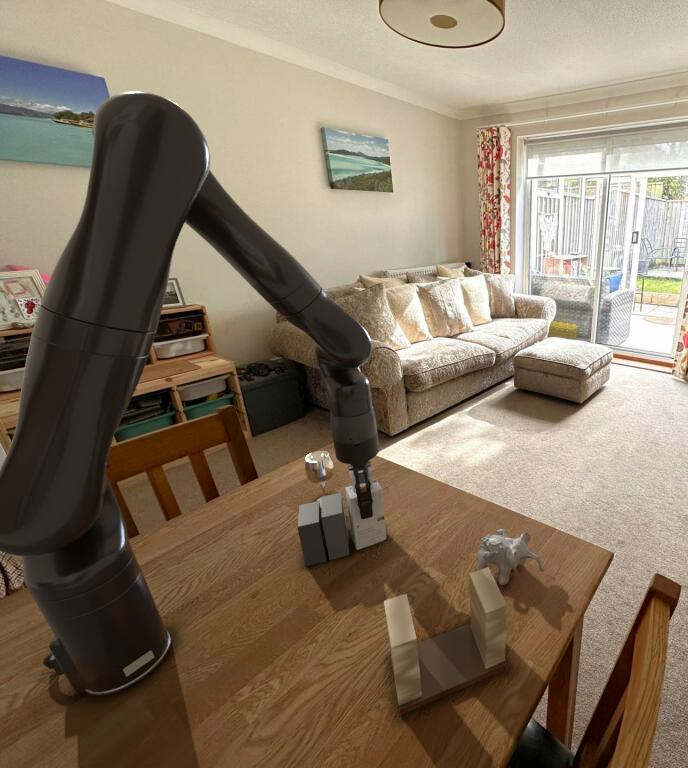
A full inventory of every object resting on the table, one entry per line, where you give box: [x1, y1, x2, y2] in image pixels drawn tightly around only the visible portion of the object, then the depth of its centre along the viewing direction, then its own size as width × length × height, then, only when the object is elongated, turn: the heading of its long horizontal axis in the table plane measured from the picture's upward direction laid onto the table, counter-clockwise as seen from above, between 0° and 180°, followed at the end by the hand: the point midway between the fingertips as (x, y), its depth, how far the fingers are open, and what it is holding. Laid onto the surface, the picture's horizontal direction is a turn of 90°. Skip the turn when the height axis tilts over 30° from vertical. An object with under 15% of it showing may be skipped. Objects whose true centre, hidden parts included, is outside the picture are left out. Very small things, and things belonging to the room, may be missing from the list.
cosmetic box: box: [344, 478, 387, 551], centre depth 79 cm, size 6×4×12 cm
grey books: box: [296, 492, 350, 567], centre depth 76 cm, size 8×6×10 cm
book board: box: [383, 567, 508, 716], centre depth 56 cm, size 15×8×12 cm, turn 114°
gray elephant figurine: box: [476, 528, 545, 586], centre depth 73 cm, size 9×12×8 cm
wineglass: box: [304, 450, 335, 509], centre depth 89 cm, size 6×6×12 cm
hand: (365, 508), depth 78 cm, fingers closed on cosmetic box, 4 cm apart
